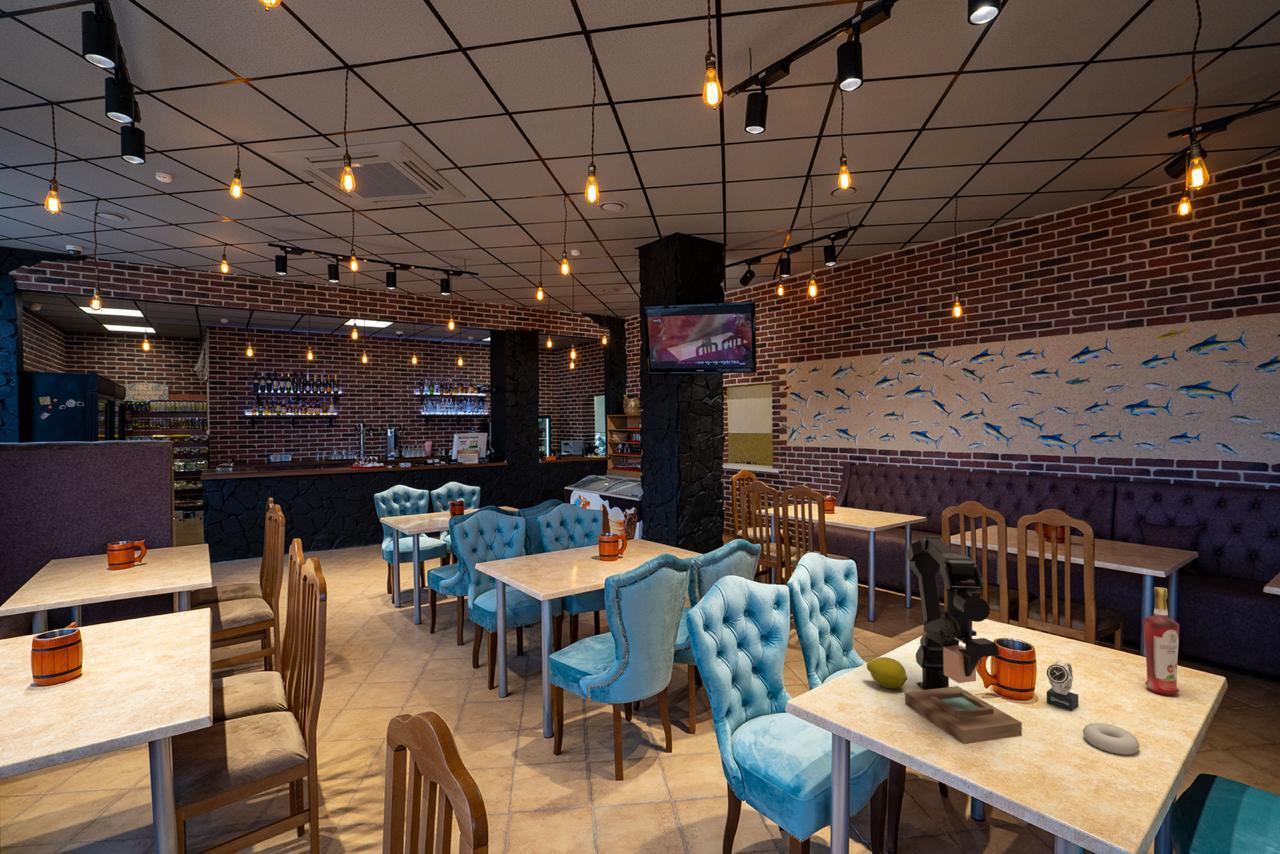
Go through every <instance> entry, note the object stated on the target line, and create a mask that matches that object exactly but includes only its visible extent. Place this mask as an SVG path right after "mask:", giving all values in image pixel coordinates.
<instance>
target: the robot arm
mask: <svg viewBox="0 0 1280 854" xmlns="http://www.w3.org/2000/svg"><path fill="white" fill-rule="evenodd" d="M906 555H907V556H906V558H907V560H908V562H909V566H910V569H911V571H912V572H913V573H914V574H915V575H916V577H917V579H918V586H919V587H918V588H919V594H920V595H919V596H920V602H921V611H922V617H923V633H922V635H921V637H920V640H919V643H920V645H919V647H918V649H917V651H916V652H915V662H916V664H918V666H919V667H920V668H921V671H922V672H921V673H922V674H921V675H922V681H919V682H917V685H918V687H921V688H922V689H923V690H929V689H938V688H946V687H950V686H949V685H950V683H949V680H950V678H948V677H947V676H945V675H944V665H943V647H947V646H956V645H960V643H963V644H965V646H964V647H965V648H966V649H959V651H960V652H961V653H962V654H963V656H964V670H965V676H967V677H968V676H971V674H972V672H973V670H974V669H975V667H976V668H977V665H978V663H980V660H981V659H982V658H986V657H995V656H999V655H1000V652H999V651H1000V648H999V647H1000V646H999V645H998V644H997V643H996V641H992V640H989V639H987V638H986V637H980V638H973V637H975V636H977V630H974V629H973V622H975V623H979V622H983V621H985V620H986V619H987V618H988V617H989V615H990V611H991V608H990V605H989V603H988V602H987V601H986V600H985V599H984V598H982V596H981V592H980V591H983V590H984V587H983V585H984V584H985V583H984V580H983V578H982V574H981V573H980V570H979V567H978V565H977V564H976V563H975V561H974V559H973V558H972V557H969V556H967V555H964V554H959V553H956V551H954V550H953V549H952V548H951V547H950V546H949V545H948V544H947V543H946V542H945V541H944V538H943V537H942V536H938V535H924V536H921V538H920V539H919V540H918V541H915V542H913V543H911V544H910V545H909V547H908V549H907V551H906ZM939 571H940V575H941V578H942V580H943V582H944V586H945V609H944V610H941V602H940V596H939V589H938V588H939V587H938V582H937V575H938V572H939Z"/></svg>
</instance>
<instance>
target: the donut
mask: <svg viewBox="0 0 1280 854" xmlns="http://www.w3.org/2000/svg"><path fill="white" fill-rule="evenodd" d="M1082 734H1083V736H1084V738H1085V740H1086V741H1087V742H1088V743H1089V744H1091V745H1092V746H1094V747H1095V748H1097V749H1100V750H1102V751H1103V752H1108V753H1111V754H1115V755H1123V756H1124V755H1126V756H1128V755H1133V754H1135V753H1137V752H1138V751H1139V749H1140V746H1141V745H1140V743H1139V741H1138V739H1137V737H1136V736H1135V735H1134V734H1133V733H1131V732H1130V731H1128V730H1127V729H1124V728H1122V727H1119V726H1117V725H1113V724H1109V723H1104V722H1090V723H1087V724H1086V725H1085V726H1084V728H1083V729H1082Z"/></svg>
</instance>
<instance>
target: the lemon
mask: <svg viewBox="0 0 1280 854" xmlns="http://www.w3.org/2000/svg"><path fill="white" fill-rule="evenodd" d="M866 669H867V671H868V672H869V673H870V676H871V677H872V679H873V680H874V681H875V683H877V684H878V685H879V686H882V687H884V688H886V689H894V690H895V689H896V690H898V689H900V688H903V686H904V685H905V684H906V682H907V681H908V679H909V678H908V675H907V672H906V669H905V667H904V665H902V663H901V662H900V661H898V660H896V659H894V658H891V657H886V656H883V657H882V656H880V657H877V658H875V659H871V660H869V661H867V663H866Z"/></svg>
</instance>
